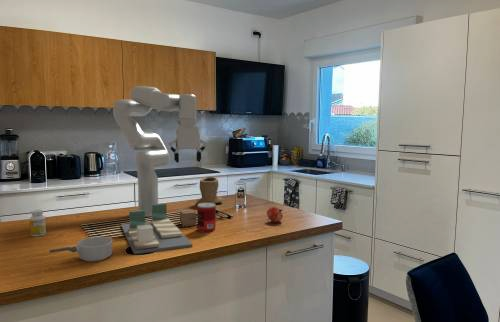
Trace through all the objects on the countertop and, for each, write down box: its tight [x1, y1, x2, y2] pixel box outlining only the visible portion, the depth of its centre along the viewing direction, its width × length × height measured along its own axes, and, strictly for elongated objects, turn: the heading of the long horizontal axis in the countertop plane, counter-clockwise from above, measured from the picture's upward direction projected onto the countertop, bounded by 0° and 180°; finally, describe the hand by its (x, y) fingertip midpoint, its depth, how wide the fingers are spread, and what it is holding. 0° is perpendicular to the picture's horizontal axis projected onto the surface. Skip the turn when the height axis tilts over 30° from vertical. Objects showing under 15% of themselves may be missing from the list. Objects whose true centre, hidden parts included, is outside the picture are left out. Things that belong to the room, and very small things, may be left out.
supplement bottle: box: [29, 209, 47, 237], centre depth 157 cm, size 5×5×10 cm
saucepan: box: [48, 235, 114, 262], centre depth 131 cm, size 12×20×6 cm, turn 131°
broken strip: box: [128, 210, 159, 249], centre depth 150 cm, size 25×8×8 cm, turn 25°
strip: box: [150, 203, 183, 238], centre depth 163 cm, size 25×8×8 cm, turn 25°
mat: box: [120, 221, 193, 255], centre depth 158 cm, size 37×21×1 cm, turn 25°
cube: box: [179, 209, 197, 228], centre depth 175 cm, size 6×6×6 cm
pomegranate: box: [266, 206, 284, 224], centre depth 181 cm, size 7×7×10 cm
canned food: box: [196, 203, 217, 233], centre depth 167 cm, size 8×8×11 cm
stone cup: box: [196, 176, 224, 204], centre depth 216 cm, size 15×12×15 cm
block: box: [137, 224, 153, 243], centre depth 145 cm, size 5×5×5 cm
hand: (187, 161), depth 172 cm, fingers open, 9 cm apart
